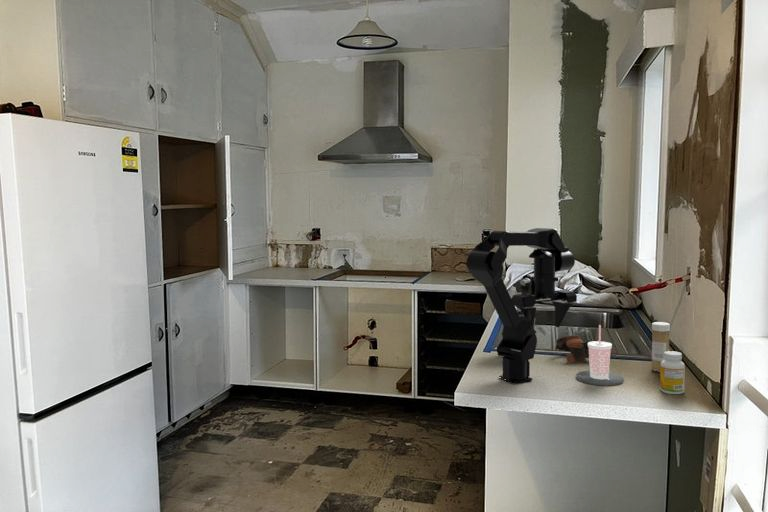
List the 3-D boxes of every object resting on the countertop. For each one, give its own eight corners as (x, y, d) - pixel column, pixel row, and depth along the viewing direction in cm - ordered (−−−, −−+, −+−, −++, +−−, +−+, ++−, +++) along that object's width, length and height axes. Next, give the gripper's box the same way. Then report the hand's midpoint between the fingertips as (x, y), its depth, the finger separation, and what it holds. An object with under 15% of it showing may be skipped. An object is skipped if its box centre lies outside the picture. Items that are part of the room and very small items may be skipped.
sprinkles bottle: (672, 371, 166) (673, 323, 164) (662, 374, 163) (664, 325, 162) (657, 367, 169) (658, 320, 168) (647, 370, 167) (648, 322, 166)
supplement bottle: (663, 386, 152) (664, 349, 152) (686, 390, 149) (687, 352, 148) (657, 392, 148) (658, 353, 147) (680, 396, 145) (681, 356, 144)
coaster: (599, 388, 152) (599, 386, 152) (566, 376, 163) (566, 374, 163) (634, 381, 157) (634, 379, 157) (600, 370, 168) (600, 368, 168)
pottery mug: (557, 364, 176) (551, 337, 180) (561, 370, 184) (555, 345, 188) (599, 356, 173) (592, 329, 176) (601, 363, 181) (595, 337, 184)
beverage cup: (587, 379, 158) (588, 327, 156) (586, 372, 164) (587, 322, 162) (612, 380, 156) (613, 328, 155) (610, 374, 162) (611, 323, 161)
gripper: (551, 268, 177) (551, 320, 179) (499, 272, 169) (499, 327, 171) (578, 272, 167) (577, 327, 168) (523, 277, 159) (523, 334, 161)
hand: (544, 328), depth 167 cm, fingers open, 9 cm apart
